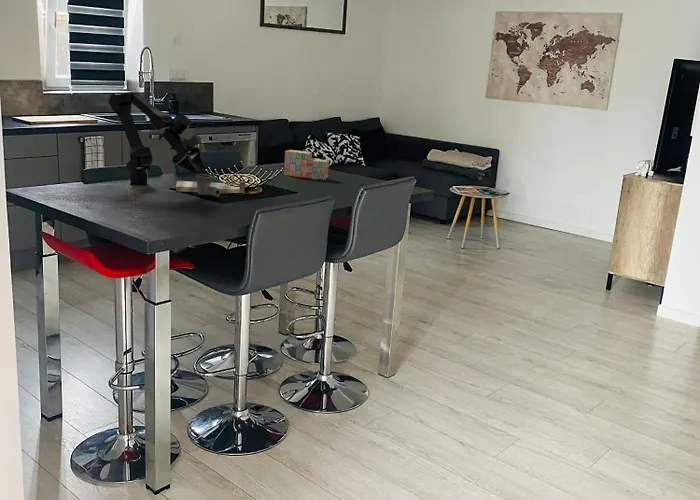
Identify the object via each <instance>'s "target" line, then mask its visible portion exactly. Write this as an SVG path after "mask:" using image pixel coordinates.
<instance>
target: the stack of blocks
mask: <svg viewBox="0 0 700 500" xmlns="http://www.w3.org/2000/svg"><path fill="white" fill-rule="evenodd" d="M284 152H285V153H284V172H283V176H289V177H298V178H303V179H310V178H311V179H310V180H318V179H321V180H320V181H325V180H327V179H326V178H329V177H328V175H329V165H330V160H327V159H326V160H325V159H317V158H313V152H311V151H305V150H304V151H303V150H294V149H288V150H285V151H284ZM324 179H325V180H324Z"/></svg>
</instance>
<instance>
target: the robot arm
mask: <svg viewBox="0 0 700 500" xmlns="http://www.w3.org/2000/svg"><path fill="white" fill-rule="evenodd" d="M108 103H109V107H110V108H111V110H112V111H113V112H114V113H115V114H116V115H117V116H118V117H119V121H120V122H121V125H122V126H121V127H122V128H123V131H124V133H125V137H126V138H127V141H128V145H129V146H130V151H129V157H130V159H129V161H127V163H126V164H125V167H126V170H128V171H130V172H129V173H130V177H129V178H130V183H129V185H131V186H132V185H133V186H146V185H147V184H148V182H149V173H148V172H147V170H150V169H151V166H152V162H153V156H154V154H153V153H152V152H151V148H150V147H149V146H145V145H144V144H143V143H142V140H141V139H142V138H141V136H140V134H139V132H138V129H137V126H136V124H135V121H134V118H133V117H132V107H133V106H132V105H134V107H136V108H137V109H138V110H139V111H140V112H142V114H144V115H145V116H146V117H147V118H148V119H149V123H150V124H151V125H152V127H153V128H154V129H156V130H163V131H160V132H159V133H158V135H159V136H158V140H159V141H161V140H163V139H164V140H165V141H166V142H167V143H168V145H169V146H170V149H171V151H174V152H176V154H175V155H174V156H172V158H171V161H172V163H173V164H174V165H177V166H180V167H181V168H183V169H186V170H188V171H190V172H192V173H194V174H198V169H197V168H196V166H197V167H199V168H200V169H202V170H203V171H206V170H207V167H206V164H205V162H204V160H203V157H202V156H203V148H202V147H201V146H199V145H201V144H203V142H202V139H203V138H202V137H201V136H200V135H198V134H194V135H192V137H191V138H188V139H187V137H184V138H183V137H182V135H183V134H185V132H186V131H187V130H188V129H189V127H191V125H192V120H191V119H190V118H189V117H188V116H186V115H184V114H183V113H182V112H178V113H176V115H175V116H174V118H173V117H172V116H171V115H169V114H168V113H166V112H164V111H161V110H160V109H158V108H157V107H155V106H154V105H153V104H152V103H151V102H150V101H148V100H147V99H146V98H144V97H143V96H142V95H141V93H140V92H139V91H128V92H125V93H112V94H110V96H109V98H108ZM196 145H197V146H196ZM195 165H196V166H195Z"/></svg>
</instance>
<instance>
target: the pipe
mask: <svg viewBox="0 0 700 500" xmlns="http://www.w3.org/2000/svg"><path fill="white" fill-rule="evenodd" d="M195 178H196V182H197V192H196V193H197V194H198V195H201V196H209V197H214V198H216V197H217V198H218V197H220V196H221V193H220V190H219V189H218V188H216V187H210V184H211V183H212V179H213V178H212V175H210V174H203V173H195Z"/></svg>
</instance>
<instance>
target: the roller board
mask: <svg viewBox="0 0 700 500" xmlns="http://www.w3.org/2000/svg"><path fill="white" fill-rule="evenodd" d="M245 183H246V181H245V180H244V181H240V187H234V186H230V185H227V184H225V182H211V184H210V187H216V188H218V189H219V190H220V194H229V193H244V194H245V189H246V188H245V185H246V184H245ZM175 192H187V193H188V192H189V193H197V181H186V180H185V181H184V180H183V181H182V180H177V181H176V185H175Z"/></svg>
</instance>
